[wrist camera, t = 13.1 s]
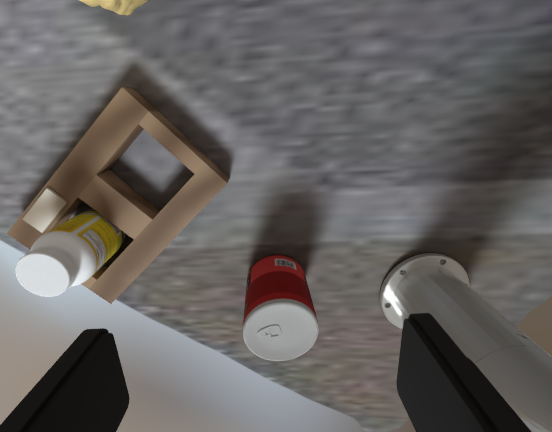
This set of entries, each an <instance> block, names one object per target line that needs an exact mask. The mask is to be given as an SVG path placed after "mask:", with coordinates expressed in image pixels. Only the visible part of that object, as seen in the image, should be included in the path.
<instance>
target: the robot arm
mask: <svg viewBox="0 0 552 432" xmlns="http://www.w3.org/2000/svg"><path fill="white" fill-rule="evenodd" d="M469 287H470V285H469V278H468V275H467V273H466V271H465V270H464V268H463V267H462V266H461V265H460V264H459V263H458V262H456V261H455V260H453V259H452V258H451V257H448V256H446V255H443V254H438V253H425V254H419V255H416V256H413V257H410V258H408V259H406V260H404V261H402V262H401V263H400V264H398V265H397V266H396V267H395V268H394V269H393V270H392V271H391V272H390V273H389V274H388V275H387V277H386V278H385V280H384V282H383V284H382V287H381V291H380V305H381V308H382V310H383V312H384V314H385V316H386V317H387V319H388V320H389V321H390V322H391V323H392V324H393V325H395V326H397V327H398V328H401V329H403V330H402V339H401V348H400V357H399V366H398V375H397V390H398V394H399V396H400V398H401V400H402V403H403V405H404V407H405V409H406V411H407V413H408V415H409V418H410V420H411V422H412V424H413V426H414V428H415V430H416V432H552V356H551V355H549V354H548V353H547V352H545V351H544V350H543V349H542V348H541V347H539V346H538V345H537V344H536V343H534V342H533V341H532V340H531V339H530V338H529V337H528V336H526V335H525V334H524V333H523V332H522V331H520V330H519V329H518V328H517V327H516V326H514V325H513V324H512V323H511V322H510V321H508V320H507V319H506V318H505V317H504V316H503V315H501V314H500V313H499V312H498V311H497V310H495V309H494V308H493V307H492V306H491V305H489V304H488V303H487V302H486V301H485V300H484V299H482V298H481V297H480V296H479V295H478V294H476V293H475V292H474V291H473V290H472V289H470V288H469ZM128 404H129V394H128V390H127V386H126V382H125V378H124V375H123V371H122V367H121V363H120V359H119V356H118V351H117V348H116V344H115V340H114V337H113V334H111V333H109V332H108V330H107V329H87V330H84V331H83V332H82V333H81V334H80V335H79V336H78V338H77V339H76V340H75V341H74V342H73V343H72V344H71V345H70V347H69V348H68V349H67V350H66V351H65V352H64V353H63V355H62V356H61V357H60V358H59V359H58V361H56V362H55V364H54V365H53V366H52V367H51V368H50V369H49V370H48V372H47V373H46V374H45V375H44V376H43V377H42V379H41V380H40V381H39V382H38V383H37V384H36V385H35V386H34V388H33V389H32V390H31V391H30V392H29V393H28V394H27V396H26V397H25V398H24V399H23V400H22V401H21V402H20V403H19V405H18V406H17V407H16V408H15V409H14V410H13V411H12V412H11V414H10V415H9V416H8V417H7V418H6V419H5V420H4V422H3V423H2V424H1V425H0V432H116V431H117V429H118V427H119V425H120V423H121V421H122V418H123V416H124V414H125V412H126V410H127V408H128Z"/></svg>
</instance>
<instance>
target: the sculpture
mask: <svg viewBox="0 0 552 432" xmlns="http://www.w3.org/2000/svg"><path fill="white" fill-rule="evenodd" d="M79 1H81V2H84V3H85V4H87V5H89V6H92V7H96V6H99V5H100V6H102V7H103V8H104V9H109V10H112V11H114V12H116V13H117V14H119V15H123V14H124V15H130V14H131V13H132V12H133V11H134V10H135V9H136V8H137V7H139V6H141V5H143V4H144V3H146V2H147V1H149V0H79Z"/></svg>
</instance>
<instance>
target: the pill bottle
mask: <svg viewBox="0 0 552 432" xmlns="http://www.w3.org/2000/svg"><path fill="white" fill-rule="evenodd" d="M124 240H125V233H124V232H123V231H122V230H121V229H119V228H118V227H117V226H115V225H114V224H113V223H111V222H110V221H109V220H107V219H106V218H105V217H103V216H102V215H101V214H100V213H98V212H97V211H96V210H94V209H89V210H86V211H84V212H82V213H80V214H78V215H77V216H75V217H73V218H71V219H70V220H68V221H66V222H65V223H63V224H61V225H59V226H58V227H56V228H54V229H52V230H51V231H49V232H47V233H45V234H44V235H42V236H41V237H39V238H38V239H37V240H36V241H35V242H34V244H33V245H32V247H31V250H30V252H29V253H28V254H26V255H25V256H23V257H22V258H21V259H20V260H19V261H18V263H17V265H16V270H15V272H16V277H17V279H18V281H19V282H20V284H21V285H22V286H23V287H24V288H25V289H27V290H28V291H30V292H31V293H33V294H36V295H39V296H43V297H53V296H57V295H60V294H61V293H63V292H64V291H66V290H67V289H68V288H69V287H72V286H76V285H79V284H82V283H84V282H85V281H87V280H88V279H89V278H90V277H91V276H92V275H93V274H94V273H95V272H96V271H97V270H98V269H99V268H100V267H101V266H102V265H103V264H104V263H105V262H106V261H107V260H108V259H109V258H110V257H111V256H112V255H113V254H114V253H115V252H116V251H117V250H119V248H120V247H121V246H122V245H123V243H124Z"/></svg>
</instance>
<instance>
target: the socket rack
mask: <svg viewBox="0 0 552 432" xmlns="http://www.w3.org/2000/svg"><path fill="white" fill-rule="evenodd" d="M143 129H145V130H146V131H147V132H148V133H149V134H150V135H151V136H152V137H154V138H155V139H156V140H157V141H158V142H159V143H160V144H161V145H163V146H164V147H165V148H166V149H167V150H168V151H169V152H170V153H171V154H173V155H174V156H175V157H176V158H177V159H178V160H179V161H180V162H182V163H183V164H184V165H185V166H186V167H187V168H188V169H189V170H191V171H192V172H193V173H194V175H193V176H192V177H191V179H190V180H189V181H188V182H187V183H186V184H185V185H184V186H183V187H182V188H181V189H180V190H179V192H178V193H177V194H176V195H175V196H174V197H173V198H172V199H171V200H170V201H169V202H168V203H167V205H166V206H165V207H164V208H163V209H162V210H161V211H159V210H158V209H157V208H156V207H154V206H153V205H152V204H151V203H150V202H148V201H147V200H146V199H145V198H143V197H142V196H141V195H140V194H139V193H137V192H136V191H135V190H134V189H132V188H131V187H130V186H129V185H128V184H126V183H125V182H124V181H123V180H121V179H120V178H119V177H118V176H116V175H115V174H114V173H113V172H112V171H110V169H111V167H112V166H113V165H114V164H115V163H116V161H117V160H118V159H119V158H120V157H121V155H122V154H123V153H124V152H125V151H126V150H127V148H128V147H129V146H130V145H131V144H132V142H133V141H134V140H135V139H136V138H137V136H138V135H139V134H140V133H141V132H142V130H143ZM229 178H230V177H229V176H228V175H227V174H225V173H224V172H223V171H222V170H221V169H220V168H219V167H218V166H217V165H216V164H215V163H214V162H212V161H211V160H210V159H209V158H208V157H207V156H206V155H205V154H204V153H203V152H202V151H201V150H200V149H198V148H197V147H196V146H195V145H194V144H193V143H192V142H191V141H190V140H189V139H188V138H187V137H185V136H184V135H183V134H182V133H181V132H180V131H179V130H178V129H177V128H176V127H175V126H174V125H172V124H171V123H170V122H169V121H168V120H167V119H166V118H165V117H164V116H163V115H162V114H161V113H160V112H158V111H157V110H156V109H155V108H154V107H153V106H152V105H151V104H150V103H149V102H148V101H147V100H145V99H144V98H143V97H142V96H141V95H140V94H139V93H138V92H137V91H136V90H135V89H131V88H125V87H122V88H121V89H120V90H119V91H118V93H117V94H116V95H115V97H114V98H113V99H112V100H111V102H110V103H109V104H108V105H107V107H106V108H105V109H104V111H103V112H102V113H101V114H100V116H99V117H98V118H97V119H96V121H95V122H94V123H93V125H92V126H91V127H90V128H89V130H88V131H87V132H86V133H85V135H84V136H83V137H82V139H81V140H80V141H79V142H78V144H77V145H76V146H75V147H74V149H73V150H72V151H71V153H70V154H69V155H68V156H67V158H66V159H65V160H64V161H63V163H62V164H61V165H60V167H59V168H58V169H57V170H56V172H55V173H54V174H53V175H52V177H51V178H50V179H49V181H48V182H47V183H46V184H45V186H44V187H43V188H42V189H41V191H40V192H39V193H38V195H37V196H36V197H35V198H34V200H33V201H32V202H31V203H30V205H29V206H28V207H27V209H26V210H25V211H24V212H23V214H22V215H21V216H20V217H19V219H18V220H17V221H16V223H15V224H14V225H13V226H12V228H11V229H10V230H9V231H8V233H7V234H8V235H10V236H11V237H13V238H14V239H16V240H17V241H19V242H20V243H22V244H23V245H24V246H26V247H27V248H29V249H30V250H31V247H32V245H33V244H34V242H35V241H36V240H37V239H38V238H39V237H41V236H42V235H44V234H45V233H47V232H49V231H51V230H52V229H54V228H56V227H58V226H59V225H61V224H63V223H65V222H66V221H67V220H68V219H69V218H70V216H71V215H72V214H73V213H74V212H75V210H76V209H77V208H78V207H79V206H80V205H81V203H82V202H83V201H84V202H85V203H86V204H88V205H89V206H90V207H92V208H93V209H94V210H96V211H97V212H98V213H100V214H101V215H102V216H103V217H105V218H106V219H107V220H109V221H110V222H111V223H113V224H114V225H115V226H117V227H118V228H119V229H121V230H122V231H123V232H124V233H126V234H127V235H128V236H130V237H131V238H132V239H134V240H133V241H132V242H131V244H130V245H129V246H128V247H127V248H126V249H125V250H124V251H123V252H122V253H121V254H120V255H119V257H118V258H117V259H116V260H115V261H114V262H113V263H112V264H111V265H110V266H109V267H107V266H105V265H104V264H103V265H102V266H101V267H100V268H99V269H98V270H97V271H96V272H95V273H94V274H93V275H92V276H91V277H90V278H89V279H88V280H87V281H85V282H84V283H82V285H84V286H85V287H87V288H88V289H90V290H91V291H93V292H94V293H96V294H97V295H99V296H100V297H102V298H103V299H105V300H106V301H108V302H109V303H112V302H113V301H114V300H115V299H116V298H117V297H118V296H119V295H120V294H121V293H122V292H123V291H124V290H125V289H126V288H127V287H128V286H129V285H130V284H131V283H132V282H133V281H134V279H135V278H136V277H137V276H138V275H139V274H140V273H141V272H142V271H143V270H144V269H145V268H146V267H147V266H148V265H149V264H150V263H151V262H152V261H153V260H154V259H155V258H156V257H157V256H158V255H159V254H160V252H161V251H162V250H163V249H164V248H165V247H166V246H167V245H168V244H169V243H170V242H171V241H172V240H173V239H174V238H175V237H176V236H177V235H178V234H179V233H180V232H181V231H182V230H183V229H184V228H185V227H186V225H187V224H188V223H189V222H190V221H191V220H192V219H193V218H194V217H195V216H196V215H197V214H198V213H199V212H200V211H201V210H202V209H203V208H204V207H205V206H206V205H207V204H208V203H209V202H210V201H211V199H212V198H213V197H214V196H215V195H216V194H217V193H218V192H219V191H220V190H221V189H222V188H223V187H224V186H225V185H226V184H227V183H228V180H229Z"/></svg>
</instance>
